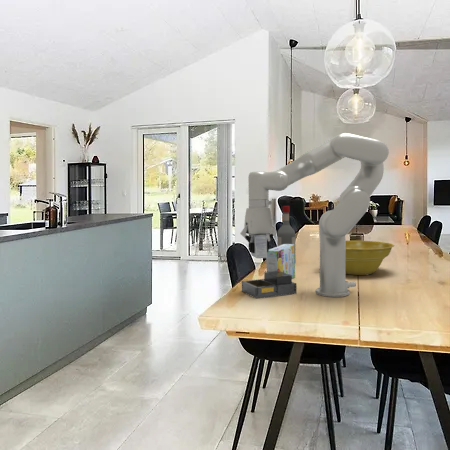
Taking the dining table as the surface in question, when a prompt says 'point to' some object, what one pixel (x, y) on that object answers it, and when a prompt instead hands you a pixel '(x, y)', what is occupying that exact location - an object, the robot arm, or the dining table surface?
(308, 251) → the dining table surface
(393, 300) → the dining table surface
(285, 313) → the dining table surface
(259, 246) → the medicine box
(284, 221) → the liquor
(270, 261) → the snack box
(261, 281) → the rack
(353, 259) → the planter bowl
